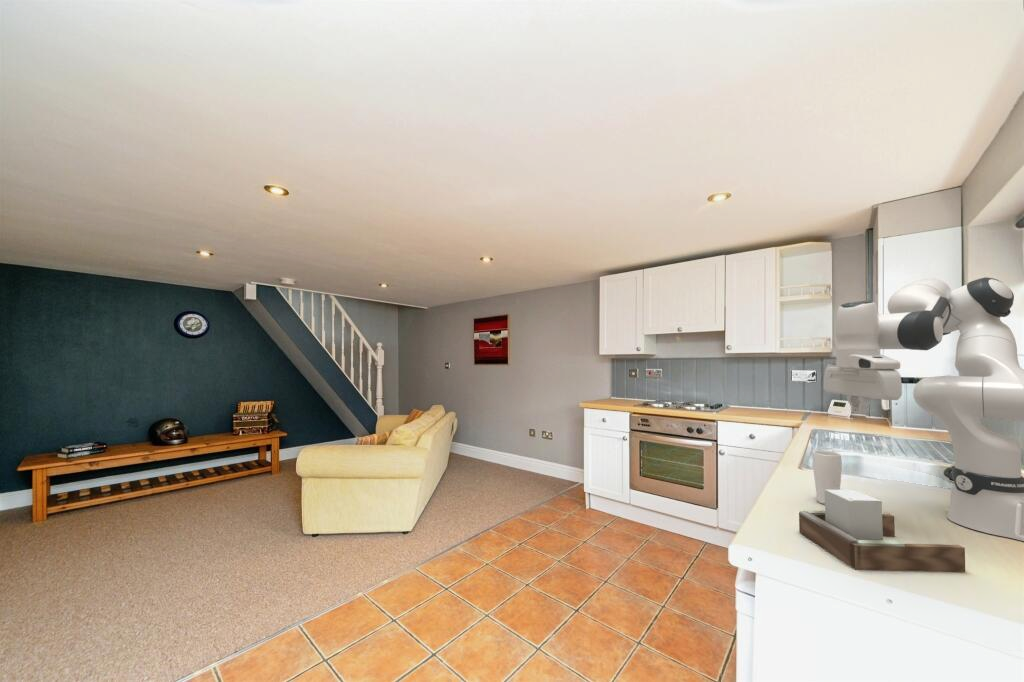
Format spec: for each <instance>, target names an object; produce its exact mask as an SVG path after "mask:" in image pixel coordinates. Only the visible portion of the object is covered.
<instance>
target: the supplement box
mask: <svg viewBox="0 0 1024 682" xmlns="http://www.w3.org/2000/svg"><path fill="white" fill-rule="evenodd" d="M824 511H825V522H827V523H829V524H830V525H832V526H834V527H836V528H837V529H839V530H841V531H843V532H845V533H846V534H848V535H850V536H852V537H853V538H855V539H857V540H884V537H883V525H882V514H883V504H882V500H880V499H877V498H875V497H873V496H870V495H867V494H865V493H863V492H861V491H858V490H856V489H840V490H825V504H824Z"/></svg>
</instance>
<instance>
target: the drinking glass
mask: <svg viewBox="0 0 1024 682" xmlns="http://www.w3.org/2000/svg"><path fill="white" fill-rule="evenodd" d="M812 469H813V470H812V471H813V477H814V485H815V496H816V497H815V499H816V501H817V502H818V503H819V504H822V505H825V490H841V483H842V472H843V470H842V469H843V465H842V454H840V453H838V452H835V451H830V450H820V449H819V450H813V451H812Z"/></svg>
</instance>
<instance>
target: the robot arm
mask: <svg viewBox="0 0 1024 682" xmlns="http://www.w3.org/2000/svg"><path fill="white" fill-rule="evenodd" d="M1014 298H1015V294H1014V292H1013V291H1012V290H1011V288H1010V287H1009V286H1008V285H1007V284H1006V283H1004V282H1002V281H1001V280H999V279H996V278H993V277H987V276H985V277H981V278H977V279H974V280H971V281H969V282H968V283H967V284H965V285H962V286H959V287H957V288H955V289H952V290H951V287H950V286H949V284H947V283H946V282H944V281H943V280H940V279H936V278H925V279H924V278H923V279H920V280H915V281H914V282H910V283H908V284H906V285H904V286H903V287H901V288H900V289H897V291H895V292H894V293H893V294H892V295H891V296H890V297H889V299H888V301H887V310H888V313H881V314H879V312H878V307H877V304H876V302H875V301H872V300H861V301H860V300H859V301H853V302H852V301H850V302H845V303H842V304H841V305H839V306H838V308H837V311H836V315H835V316H836V318H835V336H836V337H835V338H836V340H837V345H836V347H835V356H836V357H835V359H836V360H830V362H829V363H828V364H826V368H825V370H824V376H823V389H824V392H826V393H832V394H838V395H845V396H846V400H847V401H848V402H847V403H848V404H849V406H850V412H851V413H854V414H860V415H866V414H868V407H869V406H870V405H871V402H872V399H876V400H882V401H883V400H884V401H899V399H900V398H901V397H902V394H903V390H902V389H903V386H902V385H903V384H902V377H901V373H900V372H899V371H898V370H899V369H900V368H901V362H900V361H899V360H898V359H895V358H892V357H889V356H886V355H884V354H881V350H913V351H914V350H915V351H928V350H929V351H930V350H931V349H933V348H934V347H936V346H937V345H939V344H940V343H941V342H942V341H943V336H946V335H949V334H951V333H952V332H956V331H959V333H960V335H959V337H958V339H957V342H956V348H955V361H954V367H955V368H956V371H957V372H958V373H959V374H960V375H938V376H937V375H935V376H928V377H923V378H921V379H920V380H918V382H917V383H916V384H915V385H914V388H913V390H912V391H913V392H912V394H913V398H914V401H915V403H916V405H918V406H919V408H921V409H922V410H924V411H925V412H927V413H928V414H930V415H931V416H933V417H935V418H936V419H937V420H938V421H939V422H940V423H941V425H943V427H944V428H945V429H946V431H947V432H948V434H949V436H950V439H951V443H952V450H953V459H954V460H953V461H954V463H953V464H954V465H952V467H951V480H952V481H953V482H954V483H953V484H952V485H951V492H950V493H951V494H950V499H949V506H948V507H947V508H946V512H947V514H946V518H947V519H948V520H949V521H951V522H953V523H955V524H957V525H960V526H963V527H966V528H968V529H971V530H973V531H974V530H975V531H979V532H982V533H986V534H990V535H994V536H997V537H998V536H999V537H1005V538H1009V539H1015V540H1018V541H1021V542H1022V541H1023V542H1024V477H1023V476H1022V455H1021V448H1020V446H1019V445H1018V444H1017V443H1016V442H1015V441H1014V440H1013V439H1011V438H1009V437H1007V436H1004V435H1003V434H1001V433H998V432H995V431H992V430H990V429H988V428H986V426H984V425H983V424H982V423H981V421H980V420H984V419H987V420H995V421H996V420H998V421H1000V420H1001V421H1010V422H1019V423H1024V368H1022V367H1021V366H1020V363H1019V358H1018V347H1017V346H1018V345H1017V341H1016V338H1015V335H1014V333H1013V331H1012V330H1011V328H1010V327H1009V325H1007V324H1006V323H1004V322H1003V321H1002V320H1001V318H1005V317H1007V316H1008V317H1009V315H1011V313H1012V311H1011V308H1012V307H1013V305H1014V300H1015V299H1014Z"/></svg>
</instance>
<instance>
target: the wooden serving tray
mask: <svg viewBox="0 0 1024 682" xmlns="http://www.w3.org/2000/svg"><path fill="white" fill-rule="evenodd" d="M798 522H799V523H798V525H799V526H798V529H799V530H798V531H799V534H801V535H802V536H804V537H805V538H807V539H809V540H810V541H811V542H813V543H814V544H816V545H817V546H819V547H820V548H822V549H824V550H825V551H827V552H828V553H829V554H832V556H834V557H836V559H837V558H838V559H839V560H840V561H842V562H843V563H845V564H847V565H848V566H849V567H851V568H852V569H854V570H855V571H856V570H858V571H860V570H861V571H862V570H864V571H899V572H900V571H901V572H904V571H905V572H942V573H943V572H944V573H966V572H967V571H966V547H964V546H962V545H960V544H947V543H945V544H942V543H904V542H901V541H899V540H884V539H883V540H857V539H855V538H853V537H852V536H850V535H848V534H846V533H845V532H843V531H841V530H839V529H837V528H836V527H834V526H832V525H830V524H829V523H827V522H825V510H809V509H808V510H807V509H806V510H799V512H798ZM882 525H883V538H884V537H885V538H887V537H890V538H892V537H893V538H895V535H896V534H895V533H896V532H895V516H894V515H892V514H890V513H882Z"/></svg>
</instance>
